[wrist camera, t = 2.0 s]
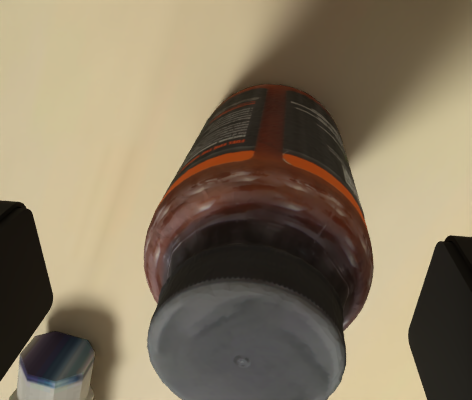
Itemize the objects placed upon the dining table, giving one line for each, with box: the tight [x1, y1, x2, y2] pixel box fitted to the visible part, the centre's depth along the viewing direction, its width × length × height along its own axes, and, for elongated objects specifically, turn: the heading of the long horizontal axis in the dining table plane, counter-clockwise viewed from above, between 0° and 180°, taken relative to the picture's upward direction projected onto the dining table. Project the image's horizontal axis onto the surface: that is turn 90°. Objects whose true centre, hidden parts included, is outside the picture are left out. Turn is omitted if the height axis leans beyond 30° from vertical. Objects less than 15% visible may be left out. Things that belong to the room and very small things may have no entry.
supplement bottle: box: [144, 84, 374, 400], centre depth 13 cm, size 6×6×11 cm
